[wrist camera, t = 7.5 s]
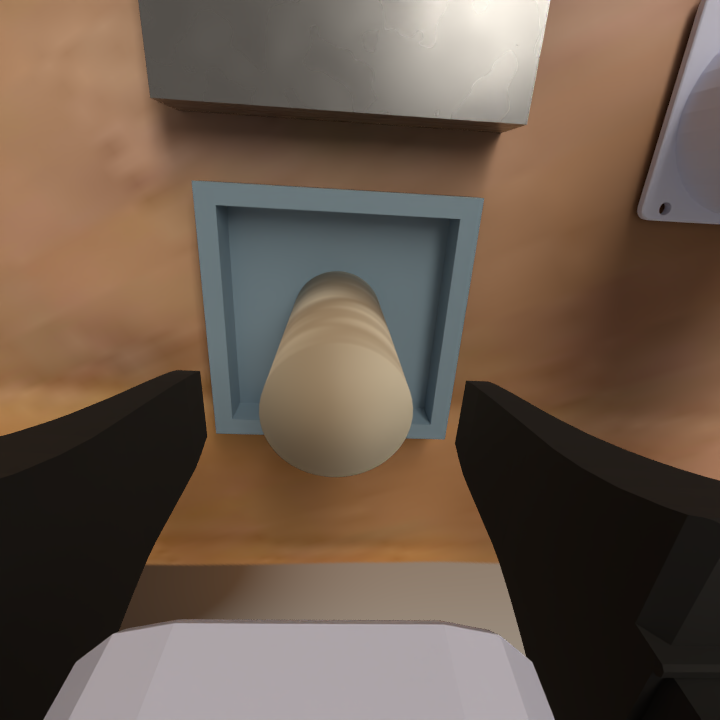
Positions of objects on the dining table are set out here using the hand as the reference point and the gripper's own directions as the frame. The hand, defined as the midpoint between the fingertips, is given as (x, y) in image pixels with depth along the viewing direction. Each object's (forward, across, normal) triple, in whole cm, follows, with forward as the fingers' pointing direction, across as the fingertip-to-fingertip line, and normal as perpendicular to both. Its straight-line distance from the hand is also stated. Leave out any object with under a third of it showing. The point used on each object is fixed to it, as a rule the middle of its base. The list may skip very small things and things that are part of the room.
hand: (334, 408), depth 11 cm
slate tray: (+9, 0, 0) cm, 9 cm away
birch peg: (+8, 0, 0) cm, 9 cm away
